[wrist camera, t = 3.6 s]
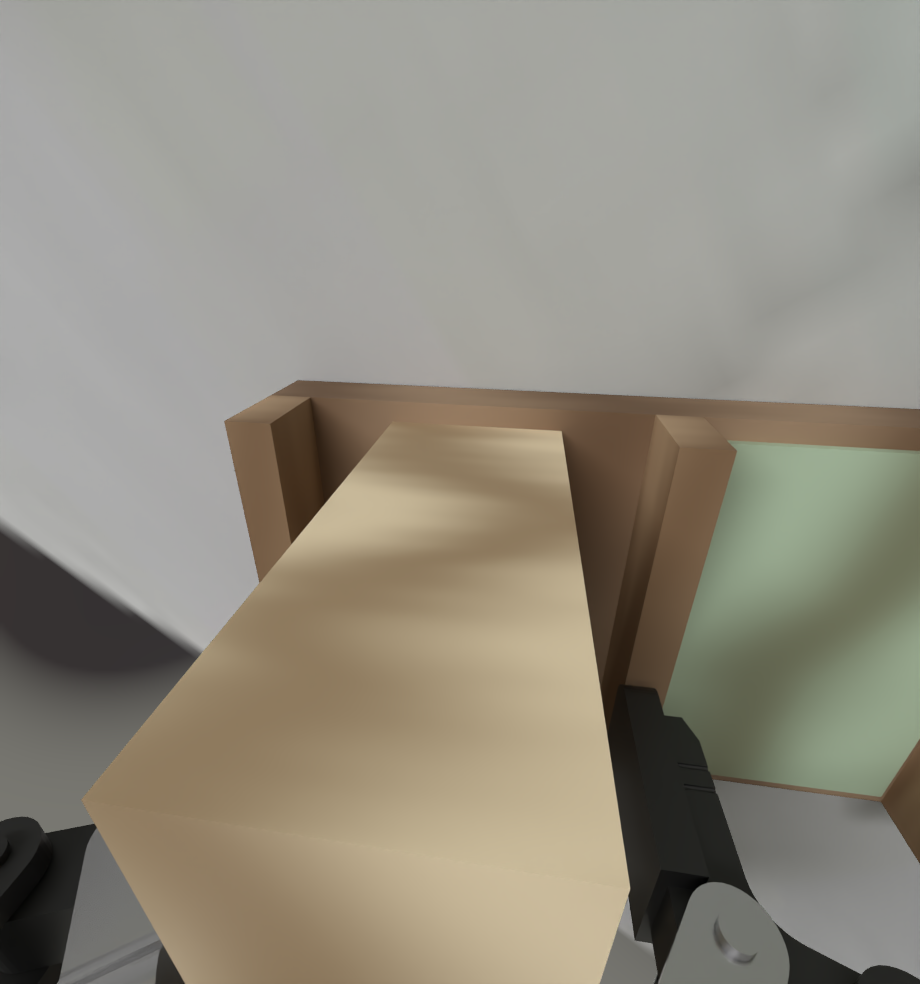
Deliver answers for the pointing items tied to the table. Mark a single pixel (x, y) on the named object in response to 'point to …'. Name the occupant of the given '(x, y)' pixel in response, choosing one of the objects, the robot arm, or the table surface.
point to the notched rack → (690, 559)
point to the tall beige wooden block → (390, 743)
